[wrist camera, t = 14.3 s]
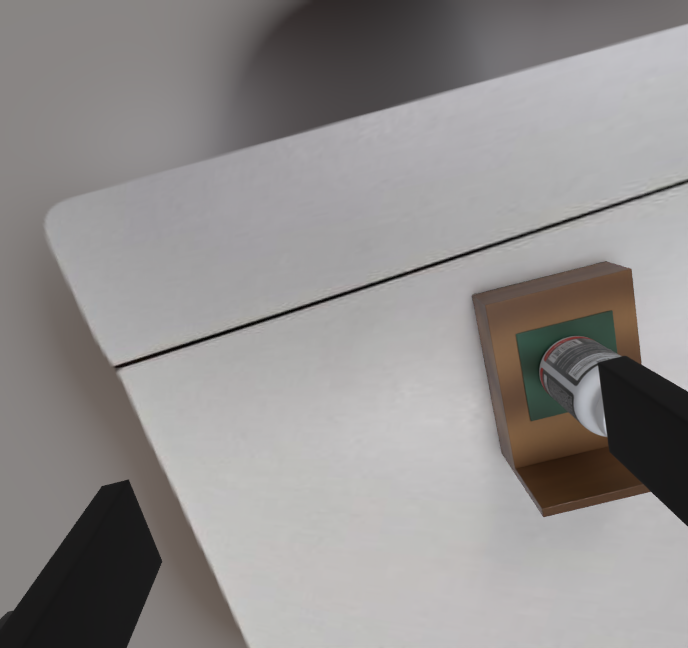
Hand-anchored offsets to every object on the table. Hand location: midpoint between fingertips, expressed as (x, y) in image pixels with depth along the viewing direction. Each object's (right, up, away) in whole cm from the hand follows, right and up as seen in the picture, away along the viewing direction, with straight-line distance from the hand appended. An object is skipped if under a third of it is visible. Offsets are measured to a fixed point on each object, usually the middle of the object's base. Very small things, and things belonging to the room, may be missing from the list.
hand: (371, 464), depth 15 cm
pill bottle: (+18, 0, +30) cm, 35 cm away
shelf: (+18, 0, +34) cm, 39 cm away
